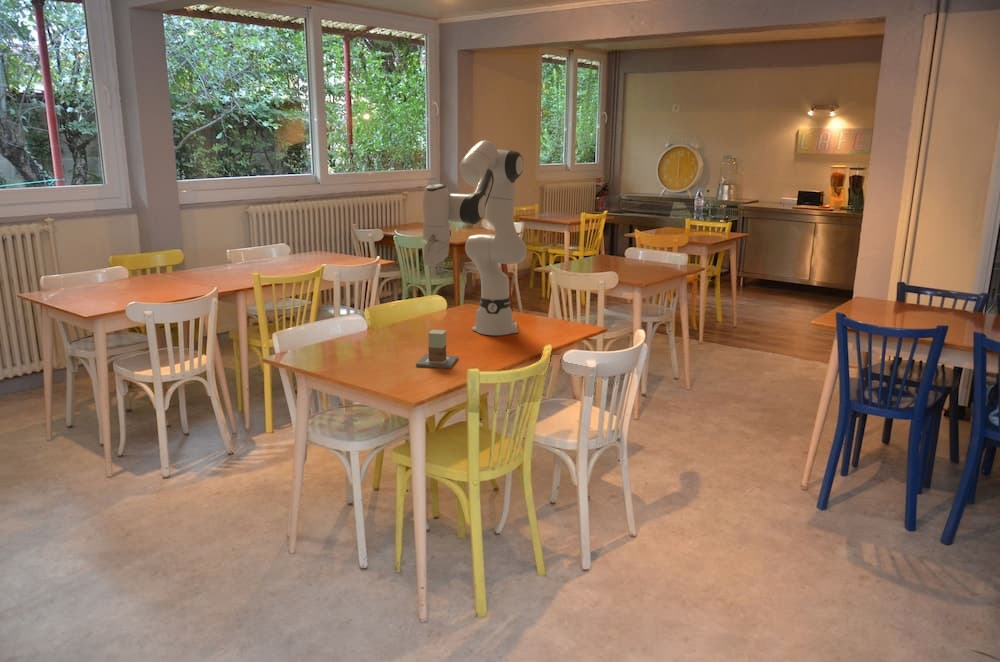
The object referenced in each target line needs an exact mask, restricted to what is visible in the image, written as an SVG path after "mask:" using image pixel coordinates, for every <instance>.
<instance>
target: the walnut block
mask: <svg viewBox="0 0 1000 662" xmlns="http://www.w3.org/2000/svg"><path fill="white" fill-rule="evenodd" d="M428 354H429V361H434V362H443V361H444V360H445V359H446V355H447V344H446V345H445V346H444V347H443V348H433V347H429V346H428Z"/></svg>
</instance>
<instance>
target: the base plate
mask: <svg viewBox="0 0 1000 662" xmlns="http://www.w3.org/2000/svg"><path fill="white" fill-rule="evenodd" d="M457 359H458V360H459V356H458V355H447V354H446V359H445V360H444V361H443V362H434V361H429V353H427V354H424V355H422V357H421V358H420V359H419V360H418V361H417V362H416V364H415V367H416V368H430V367H439V368H438V369H446V368H451V369H452V367H454V365H455V363H456V362H457V361H458V360H457Z"/></svg>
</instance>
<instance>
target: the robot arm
mask: <svg viewBox="0 0 1000 662" xmlns="http://www.w3.org/2000/svg"><path fill="white" fill-rule="evenodd" d="M458 169H459V174H460V176H461V178H462V180H463V181H464V182H465V183H466V184H468V185H469V186H471V187H473V188H474V187H475V191H474V192H471V193H457V192H455V193H454V192H451V191H449V188H448V185H446V184H444V183H434V184H428V185H427V186H425V188H424V191H423V197H422V198H423V199H422V213H423V223H422V233H423V234H422V239H423V240H426V242H425V244H424V249H423V263H424V266H426V267H427V266H428V269H429V277H430V278H431V279H432V278H436V276H437V273H440V274H441V273H443V272H444V264H445V259H446V258H448V257H449V253H450V241H451V240H450V238H451V237H452V230H451V229H450V227H451V226H450V225H451V224H450V223H451V222H452V223H453V222H454V223H464V224H467V225H468V224H470V225H477V224H478V223H480V221H482V220H483V218H485V220H486V221H487V223H489V224H491V225H492V226H493V228H494V232H495V233H494V234H491V233H478V234H477V233H476V234H472V235H470V236H469V237H468V238H467V240H466V241H465V245H464V249H465V253H466V256H467V257H468V258H469V259H470V260H471V261H472V262H473V263H474V265H475V267H476V269H477V271H478V273H479V277H480V287H481V288H480V290H481V291H480V293H481V295H480V297H479V306H480V307H479V308H478V309H477V310H476V312H475V313H476V315H475V325H474V326H472V328H471V331H473V332H477V333H479V334H481V335H485V336H486V335H487V336H506V335H510V334H516V333H519V331H518V330H519V329H518V324H517V321H515V320H514V312H513V310H512V308H511V307H510V306H511V297H510V279H509V276H508V275H507V274H506V273H505V272H503V270H501V268H500V266H499V264H502V265H503V264H504V265H515V264H520V263H522V262H523V261H524V260H525V258H526V256H527V253H528V252H527V251H528V250H527V249H528V248H527V244H526V242H525V241H524V240H523V239H522V238H521V237H520V235H519V234H518V232H517V229H516V226H515V222H514V214H515V213H514V209H515V201H516V200H515V199H516V186H515V185H516V184H515V182H516V181H517V179H519V178H520V177H521V175H522V173H523V171H524V159H523V156H522V155H521V153H520V152H518V151H516V150H506V149H498V148H497V146H496V145H495V144H494V143H493V142H492V141H489V140H486V139H485V140H484V139H483V140H480V141H478V142H477V143H475V144H474V145H473V146H472V147H471V148H470V149H469V150H468V151H467V153H466V154H465V155H464V157H463V158H462V159H461V161H460V163H459V168H458Z"/></svg>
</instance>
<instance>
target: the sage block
mask: <svg viewBox="0 0 1000 662" xmlns="http://www.w3.org/2000/svg"><path fill="white" fill-rule="evenodd" d="M445 345H446V346H447V330H446V329H445V330H443V329H431V330H430V331H429V332H428V348H429V347H433V348H443V347H444V346H445Z"/></svg>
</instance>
